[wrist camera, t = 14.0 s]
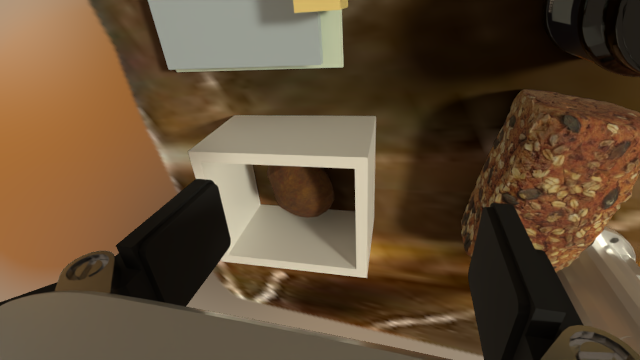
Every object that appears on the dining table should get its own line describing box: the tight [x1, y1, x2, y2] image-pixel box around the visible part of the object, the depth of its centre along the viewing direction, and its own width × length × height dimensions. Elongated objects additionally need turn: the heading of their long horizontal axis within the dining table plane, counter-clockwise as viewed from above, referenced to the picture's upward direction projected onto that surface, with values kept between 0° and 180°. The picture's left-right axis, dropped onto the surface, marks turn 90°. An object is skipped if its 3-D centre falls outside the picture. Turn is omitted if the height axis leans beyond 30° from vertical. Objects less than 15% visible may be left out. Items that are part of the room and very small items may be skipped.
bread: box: [461, 89, 640, 273], centre depth 33 cm, size 19×11×10 cm, turn 173°
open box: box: [188, 115, 376, 278], centre depth 39 cm, size 18×15×11 cm
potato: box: [267, 165, 335, 218], centre depth 40 cm, size 7×10×8 cm
